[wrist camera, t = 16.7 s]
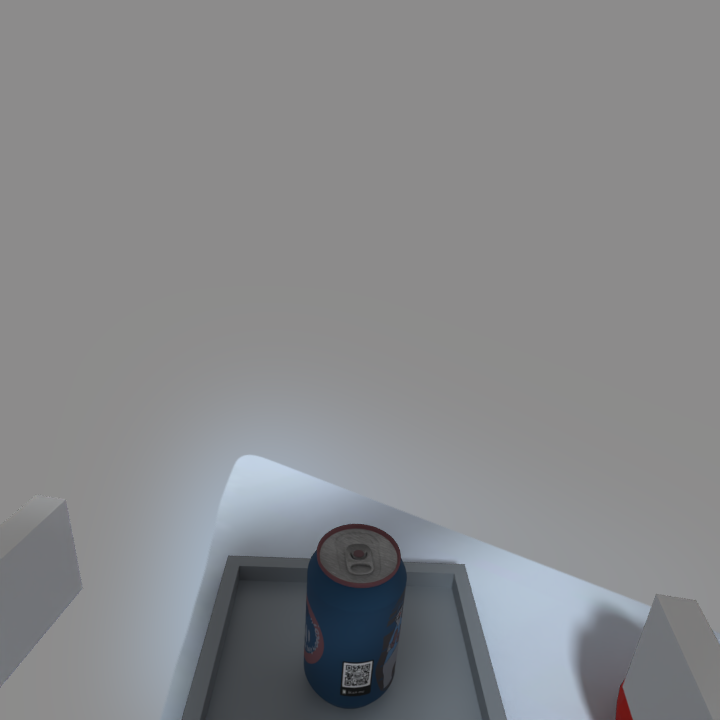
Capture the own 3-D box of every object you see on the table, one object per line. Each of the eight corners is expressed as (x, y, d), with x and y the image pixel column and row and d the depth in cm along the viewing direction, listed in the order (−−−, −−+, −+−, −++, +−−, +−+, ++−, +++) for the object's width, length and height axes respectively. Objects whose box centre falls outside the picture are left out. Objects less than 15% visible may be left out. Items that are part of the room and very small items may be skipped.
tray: (460, 584, 51) (464, 564, 50) (524, 838, 33) (532, 814, 32) (229, 576, 50) (228, 555, 49) (159, 833, 32) (156, 808, 31)
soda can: (302, 636, 44) (307, 518, 39) (386, 632, 44) (400, 516, 40) (303, 722, 37) (308, 593, 33) (400, 716, 38) (419, 589, 33)
